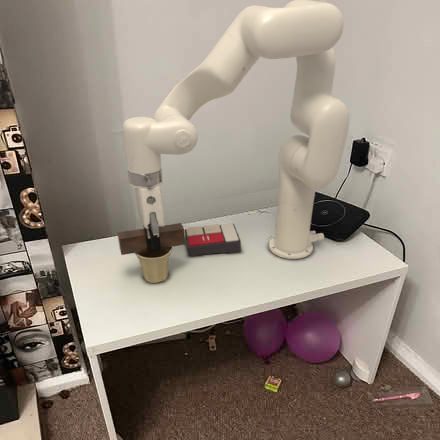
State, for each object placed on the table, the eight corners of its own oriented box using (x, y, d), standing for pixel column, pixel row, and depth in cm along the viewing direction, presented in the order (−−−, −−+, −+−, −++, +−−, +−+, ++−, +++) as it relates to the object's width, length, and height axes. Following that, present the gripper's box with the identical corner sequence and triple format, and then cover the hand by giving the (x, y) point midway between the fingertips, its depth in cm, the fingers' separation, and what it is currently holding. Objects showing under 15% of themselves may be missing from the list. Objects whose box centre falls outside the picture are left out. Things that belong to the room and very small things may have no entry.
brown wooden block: (181, 238, 113) (180, 222, 110) (185, 244, 110) (184, 228, 108) (119, 248, 109) (117, 232, 106) (121, 255, 106) (118, 238, 104)
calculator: (184, 226, 130) (233, 220, 131) (185, 239, 132) (234, 233, 133) (187, 245, 121) (240, 238, 122) (189, 258, 123) (241, 251, 125)
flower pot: (172, 265, 120) (170, 237, 114) (175, 285, 112) (173, 256, 107) (137, 268, 118) (134, 240, 113) (138, 289, 111) (134, 260, 106)
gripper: (170, 188, 93) (175, 260, 104) (154, 162, 106) (160, 229, 117) (135, 192, 91) (143, 266, 102) (123, 165, 104) (132, 233, 115)
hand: (152, 245), depth 109 cm, fingers closed on brown wooden block, 3 cm apart
